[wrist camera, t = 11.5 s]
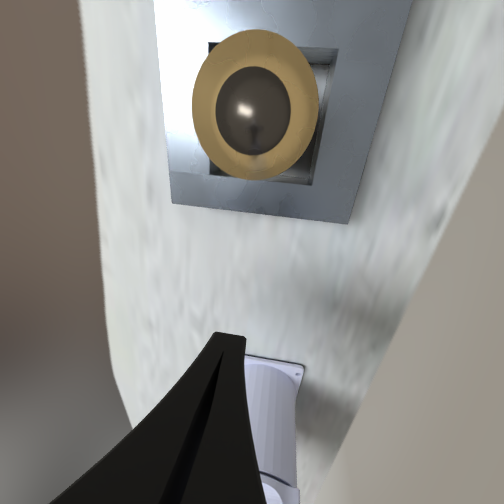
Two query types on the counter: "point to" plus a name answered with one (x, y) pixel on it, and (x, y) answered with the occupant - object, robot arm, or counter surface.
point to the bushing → (255, 104)
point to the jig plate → (333, 108)
